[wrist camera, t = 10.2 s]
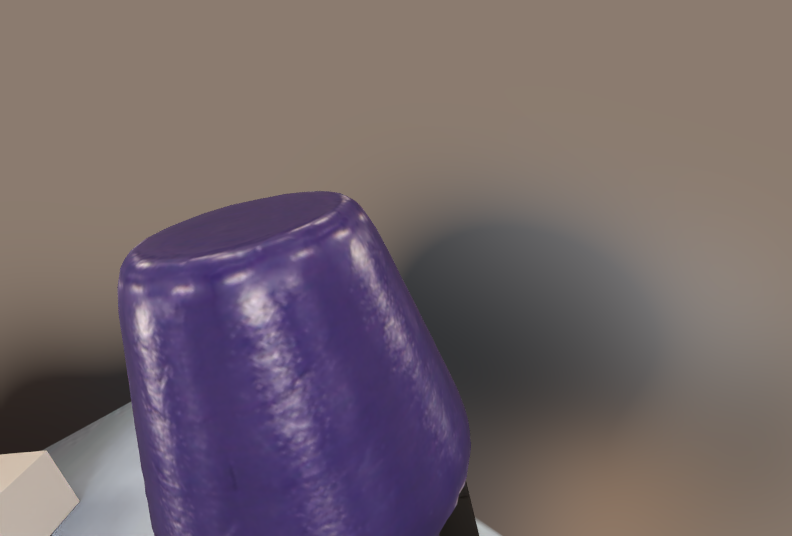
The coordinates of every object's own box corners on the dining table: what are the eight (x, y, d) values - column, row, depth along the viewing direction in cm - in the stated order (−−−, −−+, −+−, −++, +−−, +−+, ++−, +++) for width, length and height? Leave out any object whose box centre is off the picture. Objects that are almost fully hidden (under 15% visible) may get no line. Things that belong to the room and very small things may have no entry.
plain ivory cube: (19, 571, 33) (-25, 516, 30) (-44, 573, 34) (-92, 520, 31) (80, 500, 38) (46, 450, 36) (24, 504, 39) (-12, 455, 37)
